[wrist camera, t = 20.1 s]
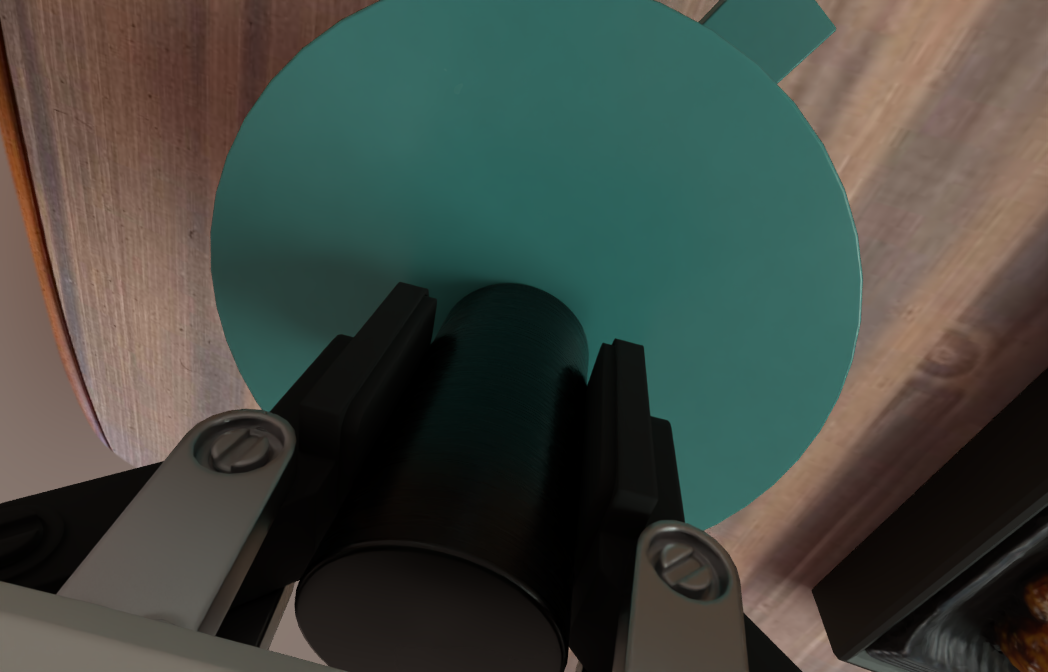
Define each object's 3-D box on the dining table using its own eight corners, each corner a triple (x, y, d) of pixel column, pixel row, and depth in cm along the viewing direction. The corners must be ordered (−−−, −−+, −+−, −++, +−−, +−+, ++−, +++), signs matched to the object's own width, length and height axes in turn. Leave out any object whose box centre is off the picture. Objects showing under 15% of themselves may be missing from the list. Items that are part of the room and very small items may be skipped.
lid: (150, 315, 14) (-246, 567, 8) (492, -251, 8) (-2, -1367, 2) (535, 593, 18) (488, 933, 11) (979, 338, 11) (1465, 759, 5)
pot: (341, 218, 27) (224, 305, 19) (617, -146, 19) (622, -271, 11) (530, 377, 30) (499, 511, 22) (835, 124, 22) (967, 188, 14)
